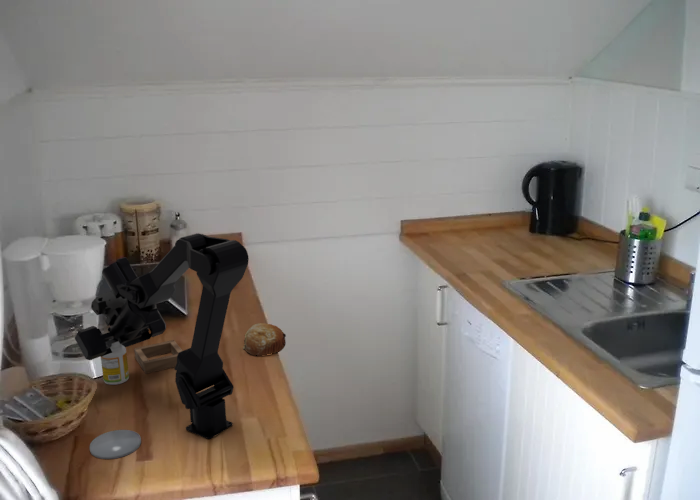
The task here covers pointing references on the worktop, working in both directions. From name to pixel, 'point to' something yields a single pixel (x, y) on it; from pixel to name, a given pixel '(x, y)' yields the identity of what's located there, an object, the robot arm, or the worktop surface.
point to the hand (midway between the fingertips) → (109, 350)
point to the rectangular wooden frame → (155, 350)
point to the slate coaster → (115, 444)
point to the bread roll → (264, 339)
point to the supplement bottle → (115, 365)
